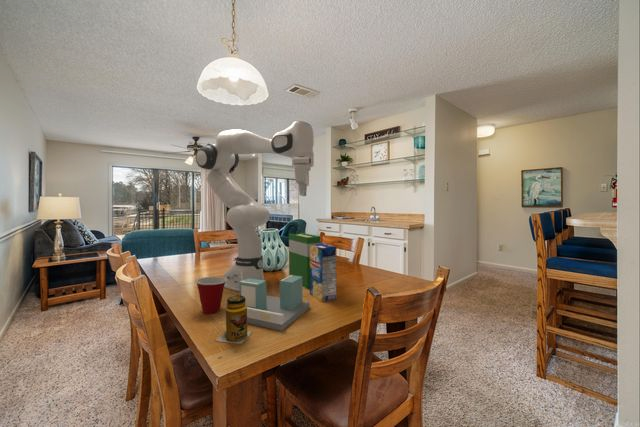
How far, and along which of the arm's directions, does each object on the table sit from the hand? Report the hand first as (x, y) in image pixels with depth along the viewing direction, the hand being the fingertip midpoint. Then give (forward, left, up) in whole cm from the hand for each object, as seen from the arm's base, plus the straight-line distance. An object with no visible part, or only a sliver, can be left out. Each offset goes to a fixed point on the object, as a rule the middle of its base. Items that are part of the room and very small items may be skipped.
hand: (303, 195), depth 110 cm
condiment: (-5, -36, -43) cm, 57 cm away
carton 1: (-9, -21, -41) cm, 47 cm away
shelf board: (-3, -18, -43) cm, 47 cm away
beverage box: (+7, +5, -43) cm, 44 cm away
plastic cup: (-25, -25, -43) cm, 56 cm away
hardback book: (-9, +19, -43) cm, 48 cm away
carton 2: (+2, -13, -41) cm, 43 cm away
